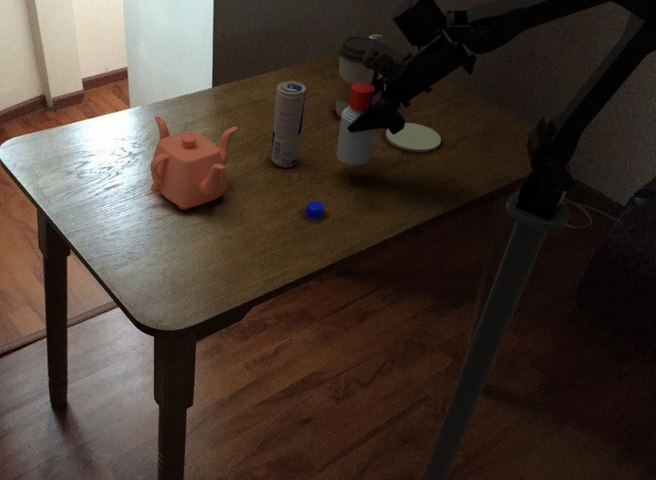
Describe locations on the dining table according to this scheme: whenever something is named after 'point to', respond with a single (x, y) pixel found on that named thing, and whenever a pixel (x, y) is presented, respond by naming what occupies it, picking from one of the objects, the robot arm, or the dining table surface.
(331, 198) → the dining table surface
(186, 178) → the teapot
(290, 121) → the beverage can
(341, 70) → the coffee cup
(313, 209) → the bottle cap
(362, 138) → the bottle
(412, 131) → the coaster
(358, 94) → the cap
